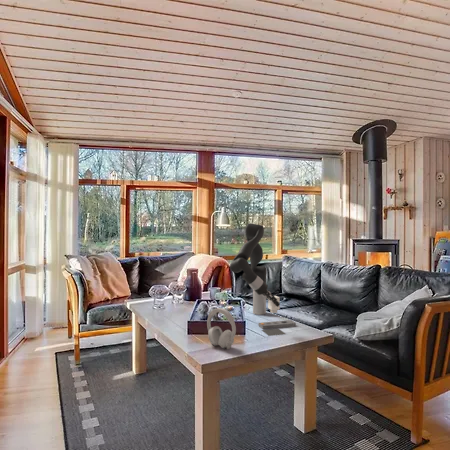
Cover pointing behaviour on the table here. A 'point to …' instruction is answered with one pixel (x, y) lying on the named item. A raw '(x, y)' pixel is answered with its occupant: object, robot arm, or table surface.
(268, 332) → the mat
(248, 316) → the table surface
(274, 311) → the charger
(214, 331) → the headphones
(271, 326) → the power strip
